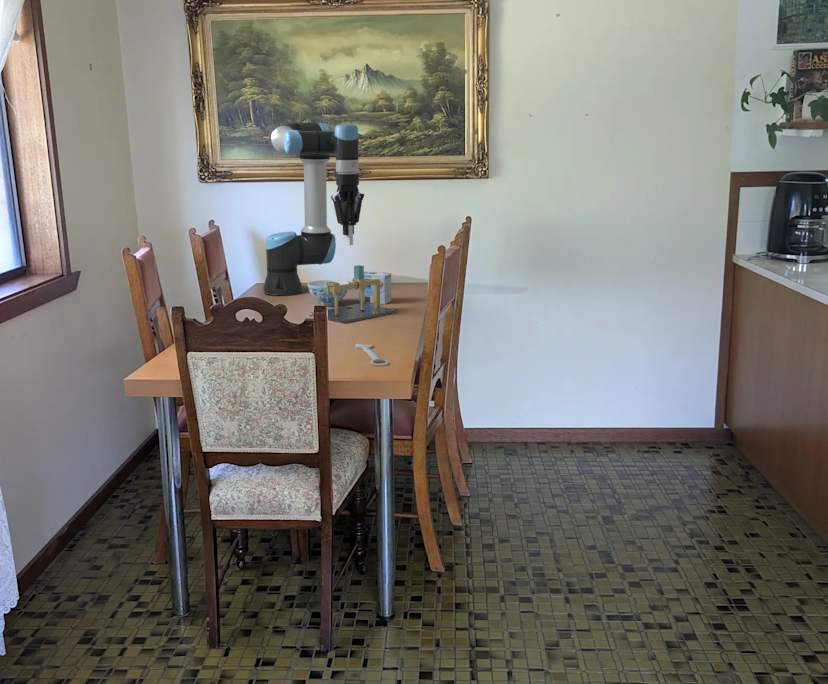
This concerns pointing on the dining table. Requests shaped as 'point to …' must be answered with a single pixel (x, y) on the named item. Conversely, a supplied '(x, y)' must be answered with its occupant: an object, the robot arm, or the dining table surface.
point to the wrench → (372, 355)
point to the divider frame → (336, 288)
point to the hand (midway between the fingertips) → (348, 244)
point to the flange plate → (357, 313)
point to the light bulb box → (384, 287)
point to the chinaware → (325, 291)
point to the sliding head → (360, 282)
